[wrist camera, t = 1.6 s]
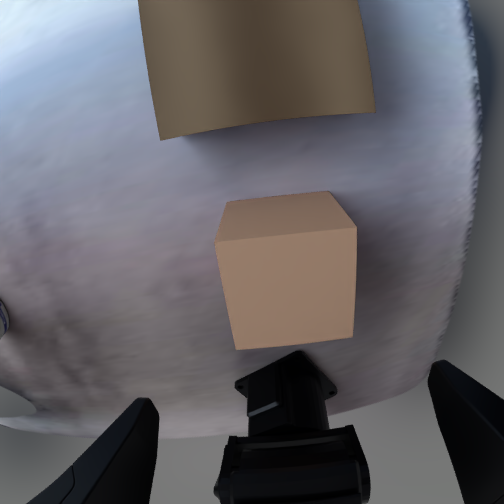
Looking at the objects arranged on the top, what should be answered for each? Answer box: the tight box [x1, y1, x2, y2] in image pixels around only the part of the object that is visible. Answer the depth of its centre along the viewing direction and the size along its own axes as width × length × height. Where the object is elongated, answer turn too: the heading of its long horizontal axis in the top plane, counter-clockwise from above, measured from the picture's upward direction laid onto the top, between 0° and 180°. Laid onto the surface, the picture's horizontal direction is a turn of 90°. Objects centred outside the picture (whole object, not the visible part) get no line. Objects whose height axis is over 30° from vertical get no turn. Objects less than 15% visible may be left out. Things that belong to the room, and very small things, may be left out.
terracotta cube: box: [214, 191, 357, 350], centre depth 17 cm, size 6×6×6 cm
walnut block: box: [138, 0, 376, 141], centre depth 13 cm, size 10×10×4 cm
